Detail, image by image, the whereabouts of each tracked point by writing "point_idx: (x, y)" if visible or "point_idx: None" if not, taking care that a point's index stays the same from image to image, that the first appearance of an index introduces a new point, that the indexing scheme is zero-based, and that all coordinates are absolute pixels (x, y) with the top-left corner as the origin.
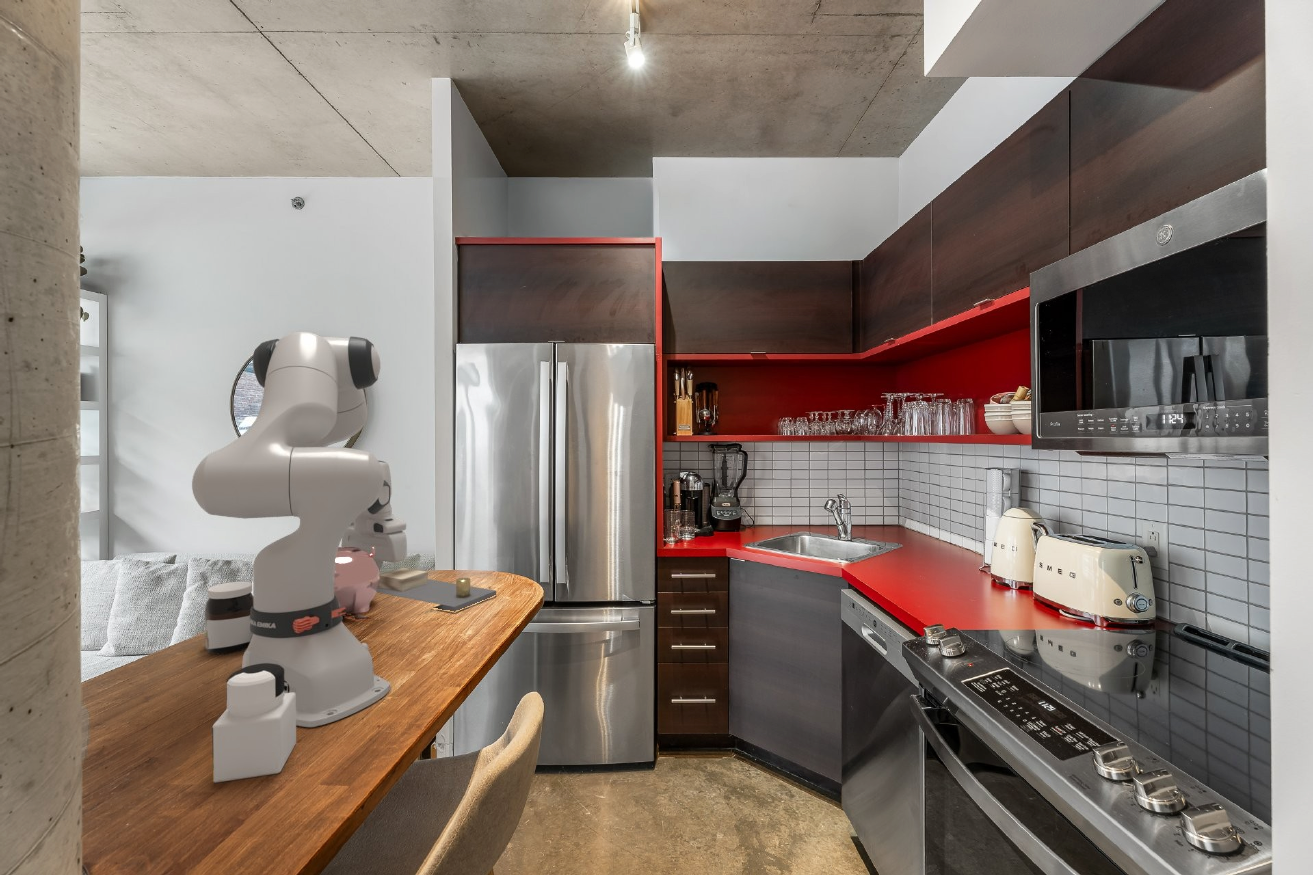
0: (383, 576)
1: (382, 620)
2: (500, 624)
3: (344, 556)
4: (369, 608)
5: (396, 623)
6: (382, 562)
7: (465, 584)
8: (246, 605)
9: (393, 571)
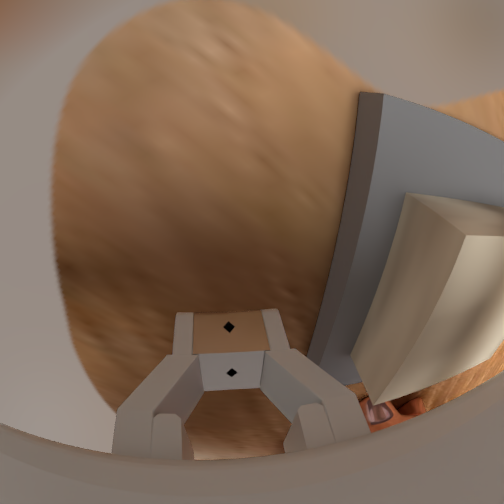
0: (417, 389)
1: (446, 387)
2: None
3: None
4: (425, 409)
5: (467, 377)
6: (351, 401)
7: None
8: None
9: (440, 332)
